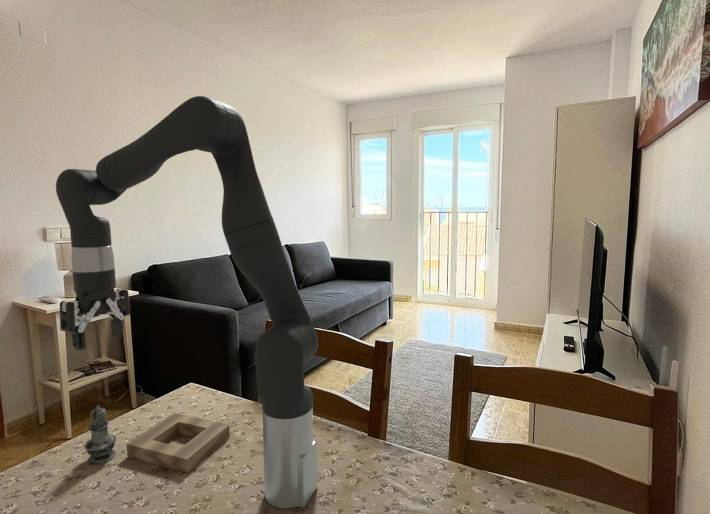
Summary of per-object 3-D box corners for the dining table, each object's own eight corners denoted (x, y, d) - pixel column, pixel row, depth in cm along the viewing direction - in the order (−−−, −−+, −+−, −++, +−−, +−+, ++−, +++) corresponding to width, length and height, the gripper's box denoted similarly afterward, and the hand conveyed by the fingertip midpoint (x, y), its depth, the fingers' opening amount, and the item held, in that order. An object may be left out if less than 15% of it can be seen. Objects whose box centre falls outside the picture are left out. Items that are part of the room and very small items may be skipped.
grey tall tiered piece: (123, 450, 92) (119, 399, 90) (105, 467, 86) (100, 412, 84) (98, 448, 92) (94, 397, 91) (78, 465, 87) (73, 411, 85)
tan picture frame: (229, 436, 98) (229, 424, 97) (187, 473, 84) (187, 459, 84) (174, 424, 103) (174, 412, 102) (127, 456, 90) (126, 443, 89)
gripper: (73, 274, 78) (80, 356, 81) (136, 263, 92) (140, 334, 94) (45, 272, 81) (53, 351, 83) (110, 262, 94) (115, 331, 96)
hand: (99, 342), depth 88 cm, fingers open, 8 cm apart
